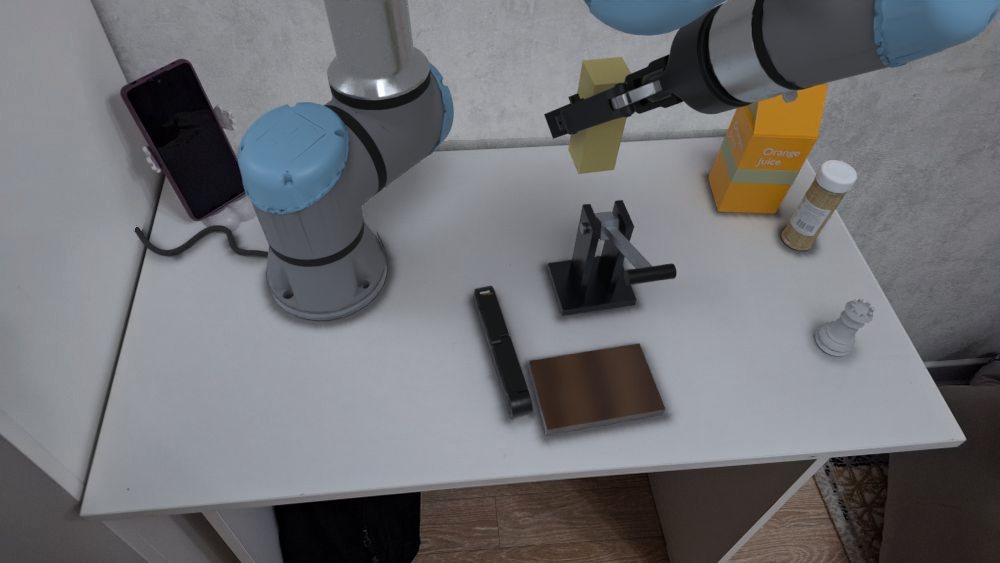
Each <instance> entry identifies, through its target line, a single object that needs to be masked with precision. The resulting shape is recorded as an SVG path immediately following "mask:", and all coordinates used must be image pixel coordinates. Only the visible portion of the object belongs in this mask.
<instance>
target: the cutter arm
mask: <svg viewBox="0 0 1000 563" xmlns="http://www.w3.org/2000/svg"><path fill="white" fill-rule="evenodd" d="M594 214H595V216H596V219H597V221H598V224H599V226H600V229H601V234H600V238H599V241H605V240H609V239H610V240H611V242H612V243H613V244H614V245H615V246H616V247H617V248H618V249H619V251H620V252H621V253H622V254H623V255H624V256H625V259H626V260H627V261H628V262H629V263H630V264H631V266H633V268H629V269H624V270H625V272H624V279H625V282H626V284H627V285H631V286H633V285H640V284H647V283H654V282H660V281H667V280H674V279H676V277H677V274H678V271H677V267H676V265H675V264H674V263H664V264H657V265H652V264H651V262H649V260H647V259H646V258H645V257H644V255H643V254H642V253H641V252H640V251H639V250H638V249H637V247H635V246H634V244H632V243H631V241H630V242H629V241H628V240H627V239H626V238H625V237H624V235H623V234H622V233H621V232H620V231H619V219H618V218H617V217H616V216H615V215H614V214H613V213H612V210H611V211H602V212H601V211H600V212H594Z"/></svg>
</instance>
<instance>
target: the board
mask: <svg viewBox="0 0 1000 563" xmlns="http://www.w3.org/2000/svg"><path fill="white" fill-rule="evenodd" d="M527 368H528V373H529V376H530V380H531V383H532V387H533V391H534V396H535V399H536V403H537V406H538V411H539V414H540V419H541V423H542V427H543V430H544V434H545V436H550V435H551V436H552V435H557V434H563V433H569V432H573V431H580V430H585V429H591V428H596V427H602V426H607V425H612V424H620V423H624V422H630V421H636V420H642V419H648V418H652V417H658V416H663V414H664V413H665V411H666V407H665V405H664V402H663V399H662V396H661V395H660V392H659V389H658V386H657V384H656V382H655V379H654V376H653V374H652V372H651V369H650V366H649V364H648V360H647V359H646V356H645V354H644V351H643V348H642V346H641V344H640V343H634V344H633V343H632V344H627V345H621V346H620V345H619V346H614V347H608V348H601V349H593V350H589V351H582V352H576V353H569V354H563V355H562V354H561V355H557V356H551V357H550V356H549V357H544V358H537V359H531V360H529V361H528V365H527Z"/></svg>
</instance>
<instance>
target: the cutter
mask: <svg viewBox="0 0 1000 563" xmlns="http://www.w3.org/2000/svg"><path fill="white" fill-rule="evenodd" d="M611 212H612V213H613V214H614V215H615V216H616V217H617V218H618V219H619V231H620V232H621V233H622V234H623V235H624V237H625V238H626V239H627V240H628V241H629V242H630V243H631V239H632V236H633V232H634V228H635V224H634V221H633V220H632V218H631V215H630V213H629V211H628V208H627V206H626V204H625V201H624V200H623V199H618V200H614V204H613V207H612V210H611ZM594 213H595V211H594V209H593V206H592V204H591V203H585V204H582V206H581V212H580V216H579V221H578V225H577V230H576V236H575V239H574V240H575V241H574V246H573V251H572V256H571V259H568V260H567V259H565V260H560V261H559V260H558V261H552V262H547V265H546V270H547V273H548V276H549V279H550V283H551V286H552V289H553V292H554V295H555V299H556V301H557V306H558V308H559V311H560V314H561V316H562V317H563V316H570V315H577V314H583V313H585V314H586V313H591V312H598V311H604V310H610V309H619V308H624V307H632V306H635V305H636V303H637V297H636V294H635V292H634V289H633V287H632V285H627V284H626V282H625V279H624V272H625V270H626V269H625V267H624V261H625V259H626V257H625V256H624V255H623V254H622V253H621V252H620V251H619V249H618V248H617V247H616V246H615V245H614V244H613V243H612V242H611V240H610V239H609V240H603V241H604V242H603V245H602V249H601V251H600V252H601V253H600V255H597V256H596V253H597V249H598V246H599V242H600V239H599V238H600V234H601V229H600V226H599V224H598V221H597V219H596V216H595V214H594Z"/></svg>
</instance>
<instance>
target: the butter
mask: <svg viewBox="0 0 1000 563" xmlns="http://www.w3.org/2000/svg"><path fill="white" fill-rule="evenodd" d="M631 73H632V72H631V70H630V68H629V67H628V65H627V64H626V62H625V60H624V58H623V57H622V56H616V57H615V56H614V57H604V58H594V59H593V58H591V59H583V60H582V61H581V67H580V73H579V81H578V85H577V92H576V94H577V93H578V94H579V97H580V99H582V98H584V99H586V98H589V97H591V96H594V95H596V94H599V93H601V92H603V91H606V90H608V89H611V88H613V87H614V86H615V85H616V84H618V83H624V82H625V77H626V76H627V75H629V74H631ZM627 119H628V117H627V118H626V117H622V118H618V119H614V120H611V121H608V122H605V123H602V124H599V125H596V126H593V127H590V128H587V129H584V130H581V131H578V133H576V134H571V135H569V141H568V142H569V143H568V147H567V148H568V149H567V150H568V153H569V155H570V158H571V160H572V162H573V165H574V167H575V169H576V171H577V174H578V175H583V174H592V173H599V172H608V171H614V170H615V168H616V164H617V159H618V155H619V150H620V147H621V144H622V139H623V135H624V131H625V127H626V123H627Z"/></svg>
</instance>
